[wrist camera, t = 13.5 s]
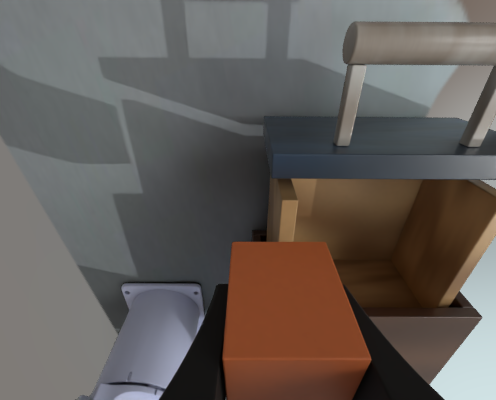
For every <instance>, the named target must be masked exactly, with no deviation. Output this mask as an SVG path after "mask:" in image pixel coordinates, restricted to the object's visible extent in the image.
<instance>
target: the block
mask: <svg viewBox="0 0 496 400" xmlns="http://www.w3.org/2000/svg"><path fill="white" fill-rule="evenodd" d="M222 360H223V370H224V380H225V390H226V400H352V399H353V397H354V395H355V393H356V391H357V389H358V387H359V385H360V382H361V380H362V378H363V376H364V374H365V372H366V370H367V368H368V366H369V364H370V362H371V356H370V354H369V351H368V349H367V346H366V344H365V341H364V338H363V336H362V333H361V331H360V328H359V326H358V323H357V321H356V318H355V316H354V313H353V310H352V308H351V305H350V303H349V300H348V298H347V295H346V293H345V290H344V288H343V285H342V282H341V280H340V277H339V275H338V272H337V270H336V267H335V265H334V262H333V260H332V257H331V254H330V252H329V249H328V247H327V244H326V242H232V247H231V260H230V272H229V284H228V296H227V308H226V320H225V332H224V345H223V357H222Z"/></svg>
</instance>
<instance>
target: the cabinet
mask: <svg viewBox="0 0 496 400" xmlns="http://www.w3.org/2000/svg"><path fill="white" fill-rule="evenodd" d="M266 239H267V230H252V242H266ZM362 309H363V310H364V311H365V313H366V314H367V315H368V316H369V318H370V319H371V320H372V322H373V323H374V324H375V325H376V326H377V328H378V329H379V330H380V331H381V333H382V334H383V335H384V336H385V337H386V339H387V340H388V341H389V342H390V343H391V344H392V346H393V347H394V348H395V349H396V350H397V351H398V352H399V353H400V355H401V356H402V357H403V358H404V359H405V360H406V361H407V362H408V363H409V364H410V366H411V367H412V368H413V369H414V370H415V371H416V372H417V373H418V374H419V375H420V376H421V377H422V378H423V379H424V380H425V381H426V382H427V383H428V384H430V383H431V382H432V380H433V379H434V378H435V377H436V375H437V374H438V373H439V372H440V370H441V369H442V368H443V367H444V365H445V364H446V363H447V362H448V360H449V359H450V358H451V356H452V355H453V354H454V353H455V352H456V350H457V349H458V348H459V347H460V345H461V344H462V343H463V342H464V340H465V339H466V338H467V336H468V335H469V334H470V333H471V331H472V330H473V329H474V328H475V326H476V325H477V324H478V323H479V321H480V320H481V319H482V316H481V315H480V314H479V313H478V312H477V310H476V309H475V308H473V306H472V305H471V304H470V303H469V301H468V300H467V299H466V298H465V297H464V296H463V295H462V293H461V292H460V291H459V292H458V294H457V295H456V297H455V298H454V300H453V301H452V303H451V304H450V306H449V307H448V308H406V307H362Z"/></svg>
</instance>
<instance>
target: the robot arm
mask: <svg viewBox="0 0 496 400" xmlns="http://www.w3.org/2000/svg"><path fill="white" fill-rule="evenodd" d="M342 285H343V288H344V290H345V293H346V295H347V298H348V300H349V303H350V305H351V308H352V310H353V313H354V316H355V318H356V321H357V323H358V326H359V328H360V331H361V333H362V336H363V338H364V341H365V344H366V346H367V349H368V351H369V354H370V356H371V362H370V364H369V366H368V368H367V370H366V372H365V374H364V376H363V378H362V380H361V382H360V385H359V387H358V389H357V391H356V393H355V395H354V397H353V399H352V400H444V399H443V398H442V397H441V396H440V395H439V394H438V393H437V392H436V391H435V390H434V389H433V388H432V387H431V386H430V385H429V384H428V383H427V382H426V381H425V380H424V379H423V378H422V377H421V376H420V375H419V374H418V373H417V372H416V371H415V370H414V369H413V368H412V367H411V366H410V364H409V363H408V362H407V361H406V360H405V359H404V358H403V357H402V356H401V355H400V353H399V352H398V351H397V350H396V349H395V348H394V347H393V346H392V344H391V343H390V342H389V341H388V340H387V339H386V337H385V336H384V335H383V334H382V333H381V331H380V330H379V329H378V328H377V326H376V325H375V324H374V323H373V322H372V320H371V319H370V318H369V316H368V315H367V314H366V313H365V311H364V310H363V309H362V307H361V306H360V305H359V303H358V302H357V301H356V299H355V298H354V297H353V295H352V294H351V293H350V291H349V290H348V289H347V287H346V286H345V285H344V284H342ZM121 290H122V292H123V295H124V298H125V300H126V303H127V306H128V308H129V312H128V314H127V317H126V319H125V321H124V323H123V326H122V328H121V330H120V332H119V334H118V337H117V339H116V341H115V343H114V346H113V348H112V350H111V352H110V355H109V357H108V359H107V362H106V364H105V366H104V368H103V370H102V373H101V375H100V377H99V379H98V382H97V384H96V386H95V388H94V390H93V392H92V393H91V395H90V396H89V397H88V396H85V395H81V396H79V397H78V399H76V400H226V390H225V380H224V370H223V360H222V357H223V345H224V332H225V320H226V308H227V296H228V284H218V285H217V286H216V289H215V292H214V295H213V298H212V301H211V303H210V306H209V308H208V311H207V313H206V316H205V313H204V306H203V298H202V290H201V286H200V285H199V284H165V283H125V284H123V285H122V287H121Z"/></svg>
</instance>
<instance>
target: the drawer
mask: <svg viewBox="0 0 496 400" xmlns="http://www.w3.org/2000/svg"><path fill="white" fill-rule="evenodd" d="M343 61H344V63H345V64H349V65H348V66H347V72H346V77H345V82H344V88H343V93H342V98H341V104H340V109H339V114H338V117H269V116H265V117H264V129H263V135H264V140H265V146H266V152H267V157H268V163H269V169H270V188H269V205H268V222H267V239H266V242H326V244H327V247H328V249H329V252H330V254H331V257H332V260H333V262H334V265H335V267H336V270H337V272H338V275H339V277H340V280H341V282H342V284H344V285H345V286H346V287H347V289H348V290H349V291H350V293H351V294H352V295H353V297H354V298H355V299H356V301H357V302H358V303H359V305H360V306H361V307H406V308H448V307H449V306H450V304H451V303H452V301H453V300H454V298H455V297H456V295H457V294H458V292H459V291H460V289H461V288H462V286H463V284H464V283H465V281H466V280H467V278H468V277H469V275H470V274H471V272H472V271H473V269H474V268H475V266H476V265H477V263H478V262H479V260H480V259H481V257H482V255H483V254H484V253H485V251H486V250H487V248H488V246H489V245H490V243H491V242H492V240H493V239H494V237H495V236H496V189H495V188H493V187H491V186H490V185H488V184H486V183H484V182H483V181H481V180H496V131H493V130H490V129H489V127H490V125H491V124H492V122H493V120H494V118H495V115H496V23H468V22H353V23H351V24H350V26H349V28H348V30H347V32H346V35H345V39H344V43H343ZM363 64H371V65H493V66H494V67H493V69H492V71H491V73H490V75H489V78H488V80H487V82H486V84H485V87H484V89H483V91H482V93H481V96H480V98H479V100H478V102H477V104H476V106H475V109H474V111H473V113H472V115H471V118H470V120H469V122H467V121H464V120H462V119H459V118H407V117H356V112H357V108H358V103H359V99H360V94H361V90H362V85H363V81H364V76H365V72H366V67H367V66H366V65H363Z"/></svg>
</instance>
